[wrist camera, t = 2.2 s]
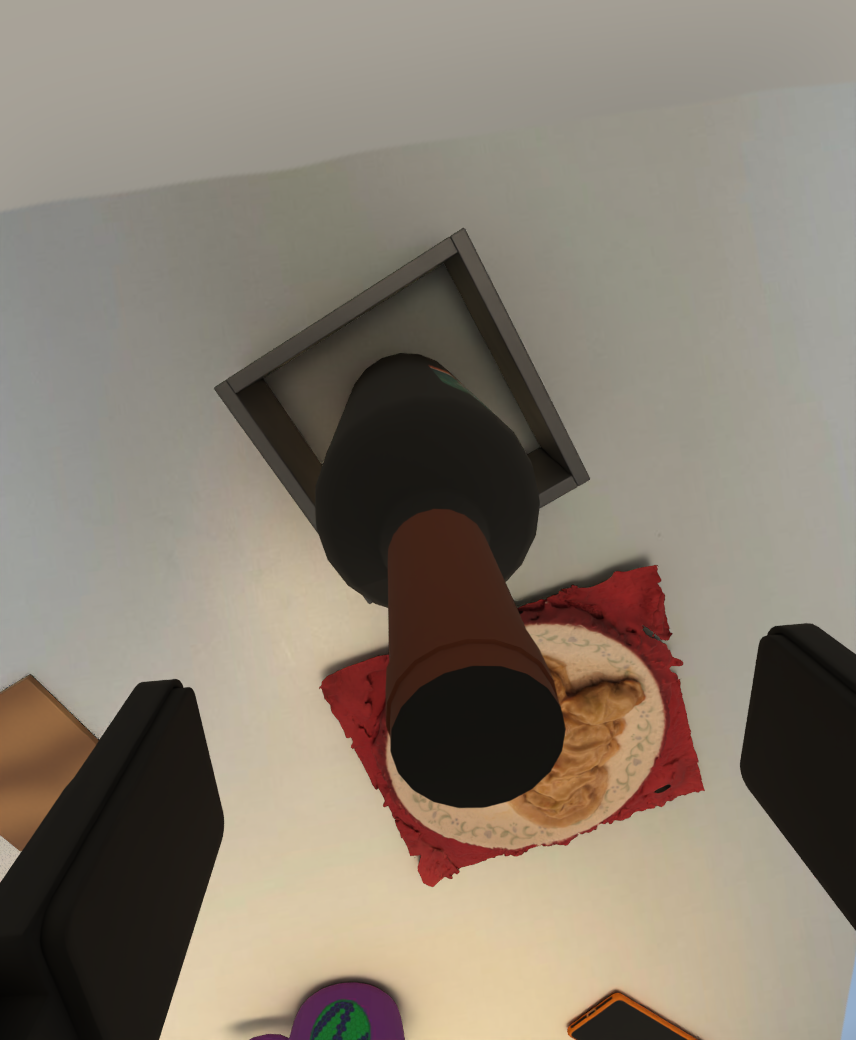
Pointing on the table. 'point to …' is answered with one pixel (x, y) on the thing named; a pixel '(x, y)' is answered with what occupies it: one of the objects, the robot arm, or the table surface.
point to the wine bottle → (443, 579)
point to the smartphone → (623, 1023)
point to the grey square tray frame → (253, 397)
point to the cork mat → (35, 756)
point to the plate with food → (588, 737)
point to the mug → (346, 1015)
